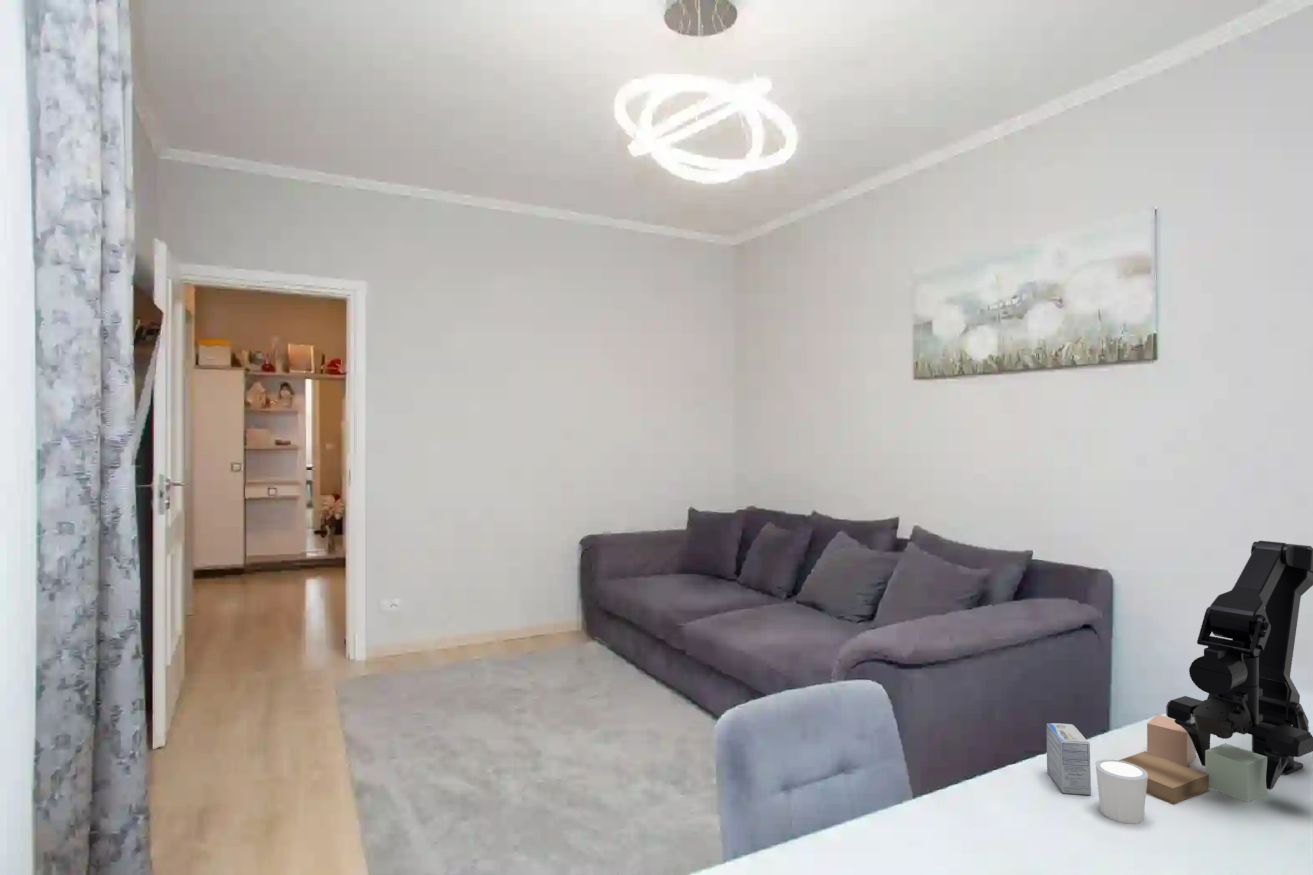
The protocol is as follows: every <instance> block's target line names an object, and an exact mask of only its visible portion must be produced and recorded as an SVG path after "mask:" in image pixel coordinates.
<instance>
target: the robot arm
mask: <svg viewBox="0 0 1313 875" xmlns="http://www.w3.org/2000/svg"><path fill="white" fill-rule="evenodd" d="M1250 553H1251V554H1250V556H1249V557H1248V560H1247V562H1246V564H1245V565H1244V567H1243V569H1242V571H1241V573H1240V574H1239V576H1238V578H1237V580H1236V582H1235V583H1234V586H1233V587H1232V589H1231V590H1229V591H1227V592H1224V593H1220V594H1218V595H1217V596H1216V598H1215V599H1214V600H1213V602H1212V603H1211V604H1210V606H1208V607H1207V608H1205V609H1206V610H1205V612H1204V616H1203V620H1202V622H1201V626H1200V630H1199V634H1198V638H1197V640H1196V644H1197V645H1199V646H1204V647H1205V648H1204V649H1203V655H1201V656H1199V657H1197V658H1195V659H1194V660H1193V661H1192V662H1191V664H1190V666H1189V669H1188V674H1189V676H1190V679H1191V681H1192V683H1193V684H1194V685H1195V686H1196V687H1197V688H1198V689H1199V690H1201V691H1202V692H1205V693H1206V694H1208V695H1207V698H1206V699H1204V700H1201V699H1197V698H1193V697H1190V696H1187V695H1184V696H1180V697H1177V698H1174V699H1170V700H1169V701H1167V703H1166V706H1165V708H1166V710H1165V711H1166V712H1165V714H1166V716H1165V717H1169V718H1173V719H1176V720H1174V721H1175V723H1176V724H1178V725H1180V726H1182V727H1183V728H1184V729H1185V730H1186V731H1187V732H1188V734H1189V736H1190V738H1191V740H1192V742H1193V744H1194V747H1195V749H1196V755H1197V756H1198V759H1199V761H1200V763H1201V765H1202V766H1203V767H1205V750H1208V749H1211V735H1213V736H1216V737H1217V738H1218V739H1219V738H1220V739H1223V740H1225V739H1226V740H1228V739H1230V738H1232V736H1234V734H1236V733H1237V734H1241V735H1246V734H1247V735H1250V736H1251V752H1254V753H1257V754H1260V755H1263V756H1266V757H1267V770H1266V787H1267V789H1268V790H1272V789H1274V787H1275V786H1276V783H1277V782H1278V780H1279V778H1280V776H1281V775H1282V774H1283V775H1288V774H1291V773H1293V772H1295V771H1297V770H1300V769H1302V768H1304V763H1302V762H1299V761H1296V760H1295V758H1299V757H1302V756H1305V755H1307V754H1309V753H1312V752H1313V735H1312V734H1311V732H1310V731H1309V730H1310V727H1309V719H1308V717H1307V715H1306V713H1305V710H1304V708H1303V706H1302V704H1301V703H1300V699H1301V698H1300V697H1301V695H1300V693H1299V691H1298V689H1297V688H1296V686H1295V684H1294V682H1293V680H1292V678H1291V672H1292V664H1293V658H1294V650H1295V643H1296V642H1295V641H1296V637H1297V636H1296V634H1297V629H1298V628H1297V626H1298V620H1299V613H1300V605H1301V604H1300V603H1301V599H1302V596H1303V595H1304V594H1305V593H1306V592H1307V591H1308V590H1310V589H1311V588H1312V587H1313V546H1311V545H1304V544H1294V543H1286V542H1280V541H1279V542H1278V541H1271V540H1270V541H1269V540H1258V541H1253V543H1252V544H1251V549H1250ZM1211 634H1212V635H1211Z"/></svg>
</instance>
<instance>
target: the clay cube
mask: <svg viewBox="0 0 1313 875" xmlns="http://www.w3.org/2000/svg"><path fill="white" fill-rule="evenodd" d="M1174 720H1176V719H1173V718H1169V717H1167V716H1165V715H1160V714H1156V715H1155V716H1154V717H1153V718H1151V719H1150V720H1149V721H1148V722H1146V724H1147V725H1146V730H1147V731H1146V734H1147V735H1146V736H1147V738H1146V741H1147V742H1146V749H1147V751H1146V752H1148V753H1151V754H1154V755H1157V756H1159V757H1162V758H1165V759H1167V760H1170V761H1173V762H1176V763H1178V764H1181V765H1184V766H1187V767H1189V765H1191V763H1193V761H1194V760H1195V759H1196V758H1197V752H1196V749H1195V747H1194V744H1193V742H1192V740H1191V738H1190V736H1189V734H1188V732H1187V731H1186V730H1185V729H1184V728H1183V727H1182V726H1180V725H1178V724H1176V723H1175V721H1174Z"/></svg>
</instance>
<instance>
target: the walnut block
mask: <svg viewBox="0 0 1313 875" xmlns="http://www.w3.org/2000/svg"><path fill="white" fill-rule="evenodd" d="M1117 760H1118V759H1117ZM1118 761H1124V762H1128V763H1131V764H1134V765H1136V766H1139V767H1141V768H1143V769H1144V770H1145V771H1146V772H1147V774H1148V780H1147V789H1146V795H1150V796H1152V797H1155V798H1157V799H1159V800H1162V801H1164V802H1167V803H1169V804H1172V805H1175V804H1177V803H1180V802H1182V801H1185V800H1187V799H1189V798H1192V797H1194V796H1197V795H1199V794H1202V793H1204V792H1207V791H1209V790H1210V788H1209V775H1208V774H1206V773H1205V772H1203V771H1200V770H1197V769H1194V768H1192V767H1189V766H1188V767H1187V766H1184V765H1181V764H1178V763H1176V762H1173V761H1170V760H1167V759H1165V758H1162V757H1159V756H1157V755H1154V754H1151V753H1148V752H1147V751H1142V752H1139V753H1136V754H1132V755H1131V756H1127V757H1125V758H1121V759H1119V760H1118Z"/></svg>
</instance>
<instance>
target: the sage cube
mask: <svg viewBox="0 0 1313 875" xmlns="http://www.w3.org/2000/svg"><path fill="white" fill-rule="evenodd" d="M1204 767H1205V768H1204V770H1205V771H1204V773H1206V774H1208V775H1209V789H1212V790H1214V791H1217V792H1220V793H1222V794H1225V795H1227V796H1230V797H1233V798H1235V799H1238V800H1240V801H1243V802H1246V803H1251V801H1254V800H1256V799H1259V798H1261V797H1263V796H1265V795H1267V794H1268V790H1269V789H1267V787H1266V770H1267V757H1266V756H1263V755H1260V754H1257V753H1254V752H1252V751H1250V750H1247V749H1244V748H1241V747H1237V746H1234V745H1232V744H1228V743H1225V742H1224V743H1223V744H1219V745H1217V746H1214V747H1210V749H1208V750H1205V766H1204Z"/></svg>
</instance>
